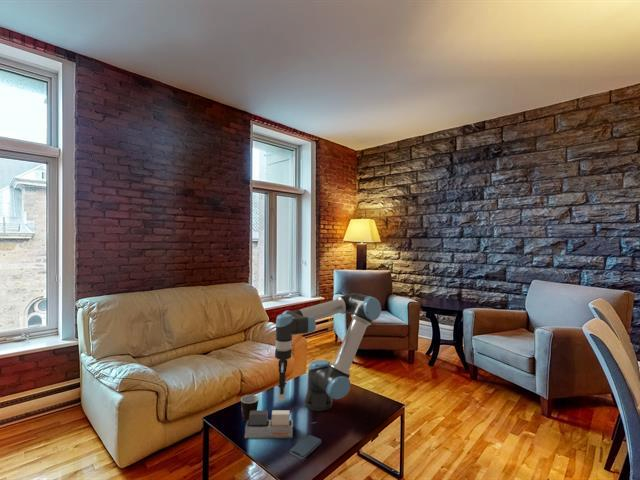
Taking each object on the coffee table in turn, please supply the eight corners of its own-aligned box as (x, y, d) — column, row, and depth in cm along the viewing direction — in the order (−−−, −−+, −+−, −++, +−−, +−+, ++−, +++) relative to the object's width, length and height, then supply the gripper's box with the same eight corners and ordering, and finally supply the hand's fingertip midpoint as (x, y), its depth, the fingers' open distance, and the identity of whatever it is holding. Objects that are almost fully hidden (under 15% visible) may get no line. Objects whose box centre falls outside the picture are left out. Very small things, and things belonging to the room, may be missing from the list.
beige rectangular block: (289, 427, 151) (289, 410, 151) (288, 431, 147) (289, 414, 147) (271, 427, 150) (272, 410, 150) (271, 432, 147) (271, 414, 147)
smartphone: (323, 439, 143) (303, 457, 130) (322, 443, 143) (302, 461, 130) (309, 433, 147) (288, 449, 134) (308, 437, 147) (288, 454, 134)
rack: (292, 426, 154) (293, 407, 154) (292, 438, 145) (293, 417, 145) (247, 426, 152) (248, 407, 152) (244, 438, 143) (245, 418, 143)
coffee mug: (253, 425, 153) (254, 404, 153) (237, 422, 155) (237, 402, 155) (263, 412, 165) (263, 393, 165) (247, 410, 167) (247, 391, 167)
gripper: (276, 344, 155) (274, 393, 155) (274, 353, 142) (272, 407, 142) (291, 344, 156) (290, 393, 155) (291, 353, 143) (289, 407, 142)
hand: (281, 399), depth 149 cm, fingers closed
